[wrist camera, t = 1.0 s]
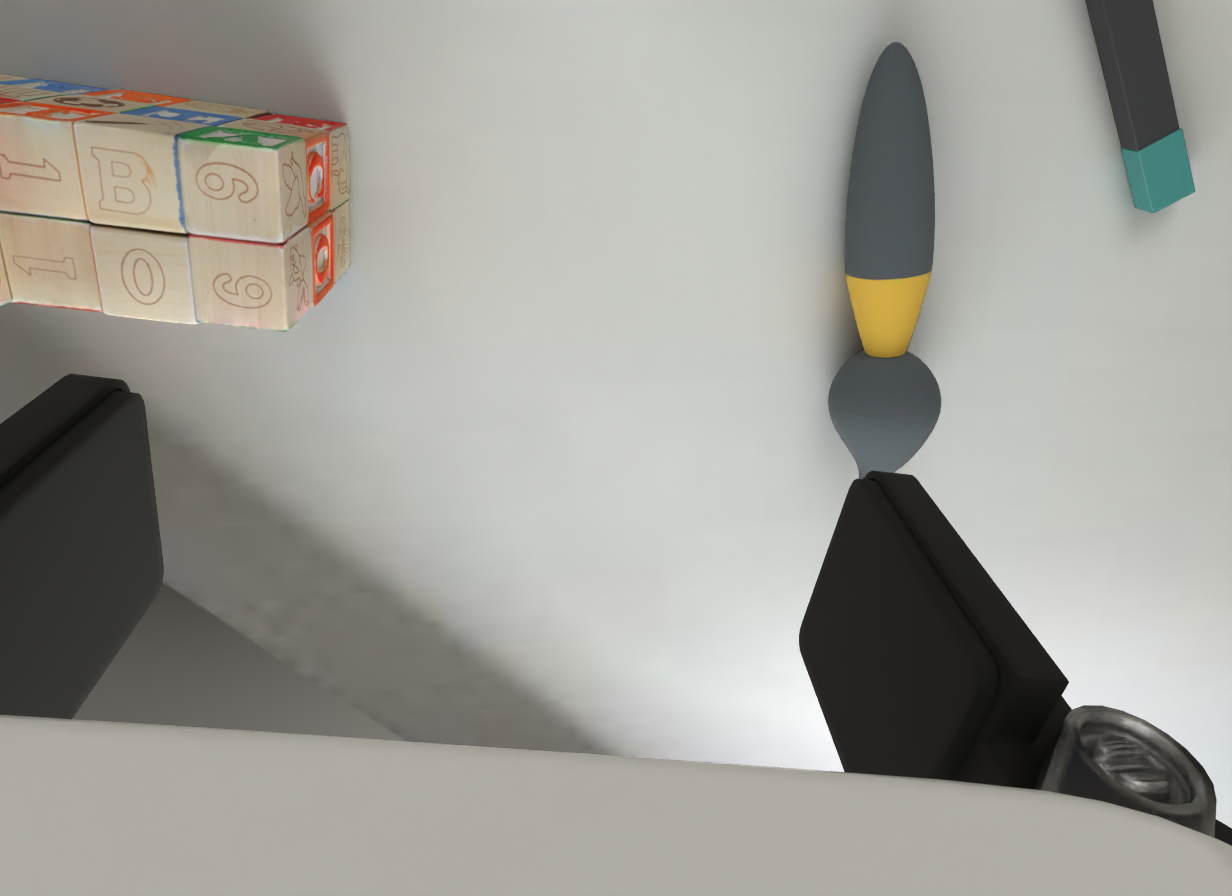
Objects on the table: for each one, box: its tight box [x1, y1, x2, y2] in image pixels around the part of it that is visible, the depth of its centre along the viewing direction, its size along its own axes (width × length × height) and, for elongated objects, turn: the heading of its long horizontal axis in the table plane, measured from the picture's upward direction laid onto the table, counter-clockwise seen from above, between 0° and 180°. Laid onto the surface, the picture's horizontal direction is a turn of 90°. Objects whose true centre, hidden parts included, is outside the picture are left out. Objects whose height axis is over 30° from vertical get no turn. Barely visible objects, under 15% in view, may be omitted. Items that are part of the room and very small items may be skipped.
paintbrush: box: [828, 42, 941, 479], centre depth 36 cm, size 20×5×5 cm, turn 10°
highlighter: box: [1086, 0, 1195, 213], centre depth 33 cm, size 14×2×1 cm, turn 30°
